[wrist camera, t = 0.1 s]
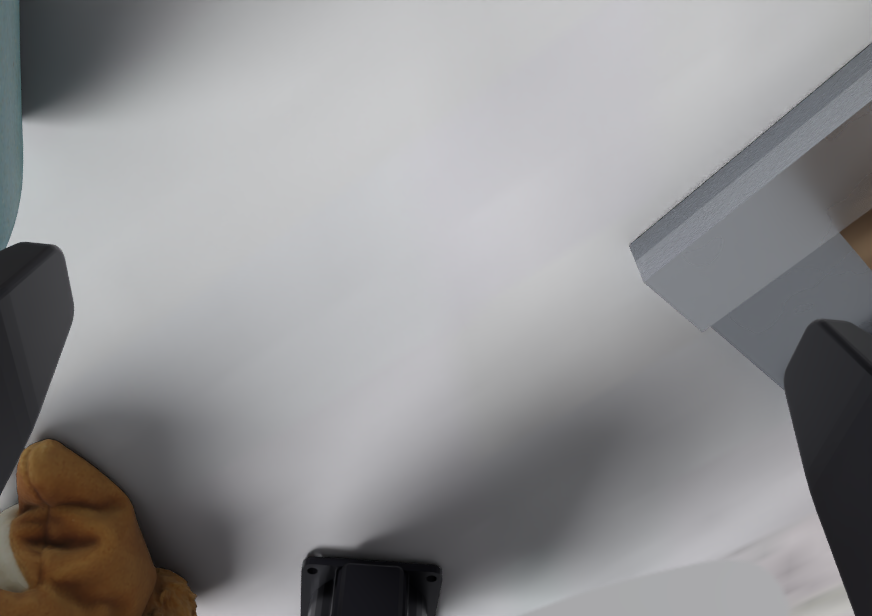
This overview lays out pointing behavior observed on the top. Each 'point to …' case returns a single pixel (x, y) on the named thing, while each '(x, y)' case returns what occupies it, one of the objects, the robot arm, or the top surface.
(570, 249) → the top surface
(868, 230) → the brown block
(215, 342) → the top surface
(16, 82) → the flower pot
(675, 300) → the slot bed
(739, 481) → the top surface
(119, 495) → the stuffed squirrel
